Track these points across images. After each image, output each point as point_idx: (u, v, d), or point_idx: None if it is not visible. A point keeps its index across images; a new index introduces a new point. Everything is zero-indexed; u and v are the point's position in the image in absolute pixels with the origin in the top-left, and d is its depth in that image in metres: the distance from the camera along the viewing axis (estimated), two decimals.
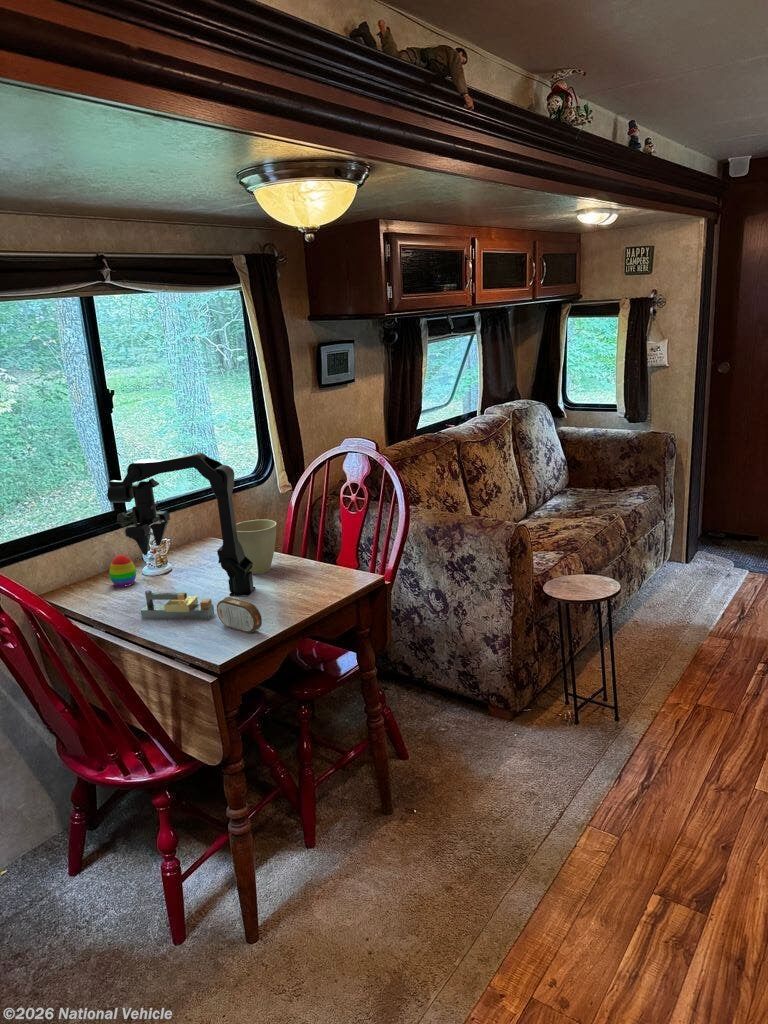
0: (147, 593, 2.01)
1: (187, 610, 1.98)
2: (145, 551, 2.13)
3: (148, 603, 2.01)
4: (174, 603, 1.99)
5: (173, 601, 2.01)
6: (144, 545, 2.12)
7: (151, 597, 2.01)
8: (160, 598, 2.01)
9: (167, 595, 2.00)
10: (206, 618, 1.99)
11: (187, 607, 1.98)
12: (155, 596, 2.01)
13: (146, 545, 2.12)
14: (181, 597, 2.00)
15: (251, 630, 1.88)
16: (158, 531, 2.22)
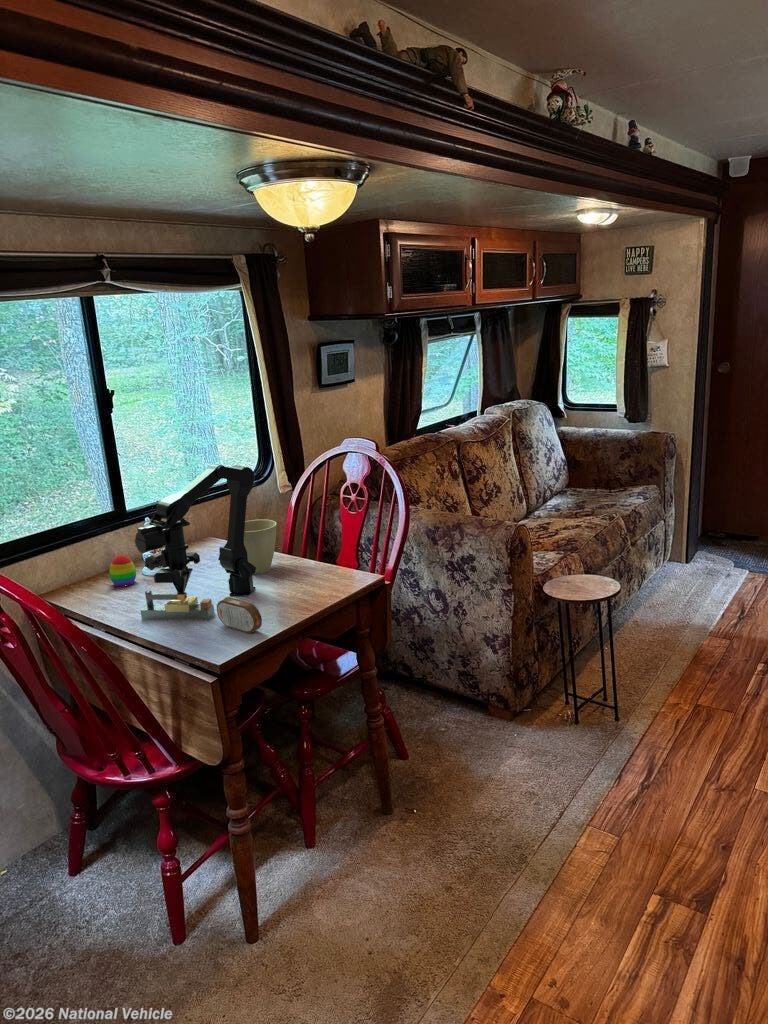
0: (147, 593, 2.01)
1: (187, 610, 1.98)
2: None
3: (148, 603, 2.01)
4: (174, 603, 1.99)
5: (173, 601, 2.01)
6: (180, 585, 2.00)
7: (151, 597, 2.01)
8: (160, 598, 2.01)
9: (167, 595, 2.00)
10: (206, 618, 1.99)
11: (187, 607, 1.98)
12: (155, 596, 2.01)
13: (183, 586, 2.00)
14: (181, 597, 2.00)
15: (251, 630, 1.88)
16: None
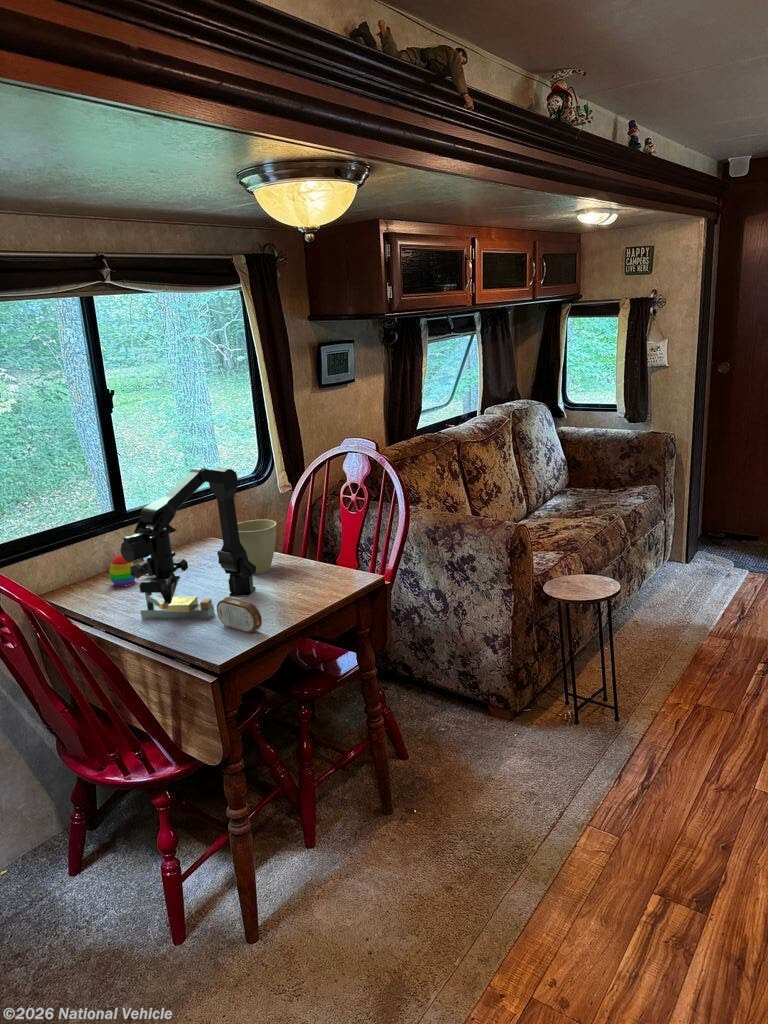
0: (145, 593, 2.01)
1: (187, 610, 1.98)
2: (168, 600, 1.96)
3: None
4: (174, 603, 1.99)
5: (173, 601, 2.01)
6: (168, 594, 1.94)
7: (148, 598, 2.00)
8: (152, 601, 1.99)
9: (154, 600, 1.97)
10: (206, 618, 1.99)
11: (187, 607, 1.98)
12: (149, 598, 1.99)
13: (170, 594, 1.94)
14: (160, 606, 1.94)
15: (251, 630, 1.88)
16: None
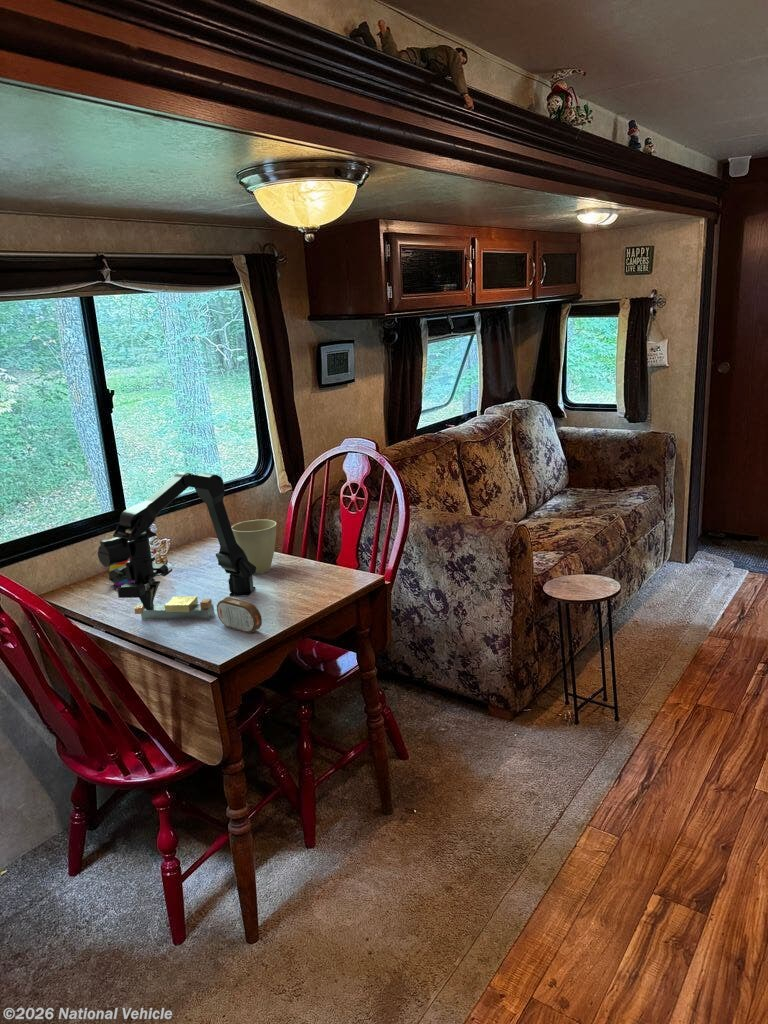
0: None
1: (187, 610, 1.98)
2: (148, 606, 1.92)
3: None
4: (174, 603, 1.99)
5: (173, 601, 2.01)
6: (147, 600, 1.91)
7: None
8: None
9: None
10: (206, 618, 1.99)
11: (187, 607, 1.98)
12: None
13: (149, 600, 1.91)
14: None
15: (251, 630, 1.88)
16: None
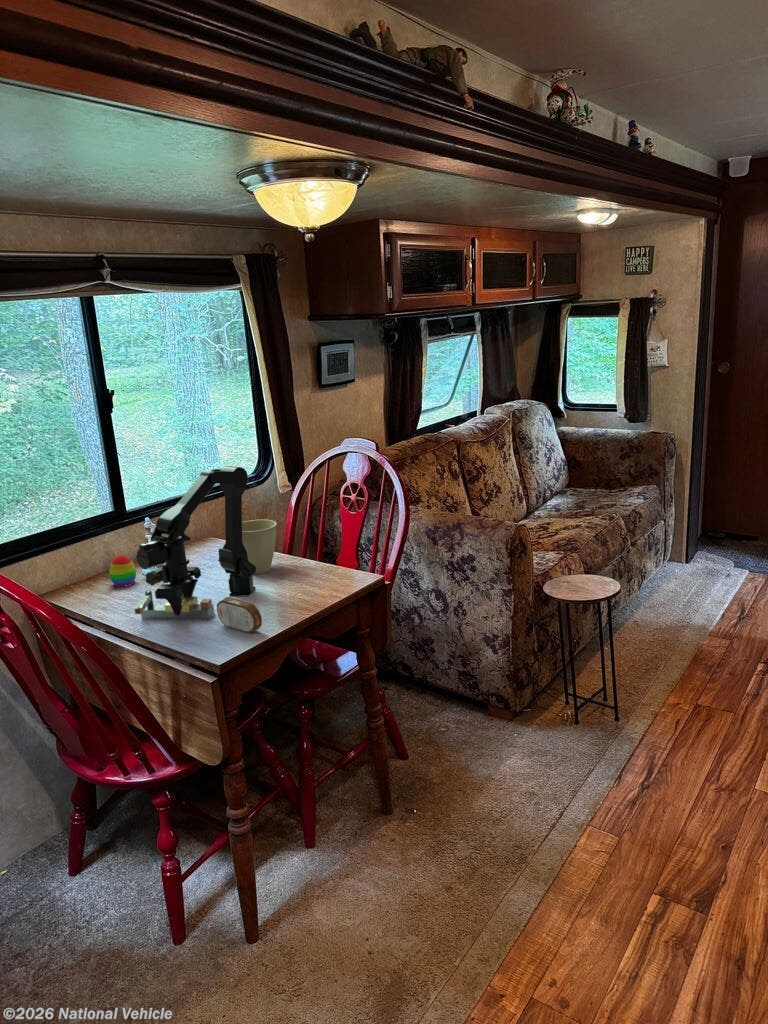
0: (145, 592, 2.01)
1: (187, 610, 1.98)
2: (177, 611, 1.97)
3: None
4: None
5: None
6: (177, 605, 1.96)
7: None
8: None
9: None
10: (206, 618, 1.99)
11: (187, 607, 1.98)
12: None
13: (179, 605, 1.96)
14: None
15: (251, 630, 1.88)
16: (187, 590, 2.04)
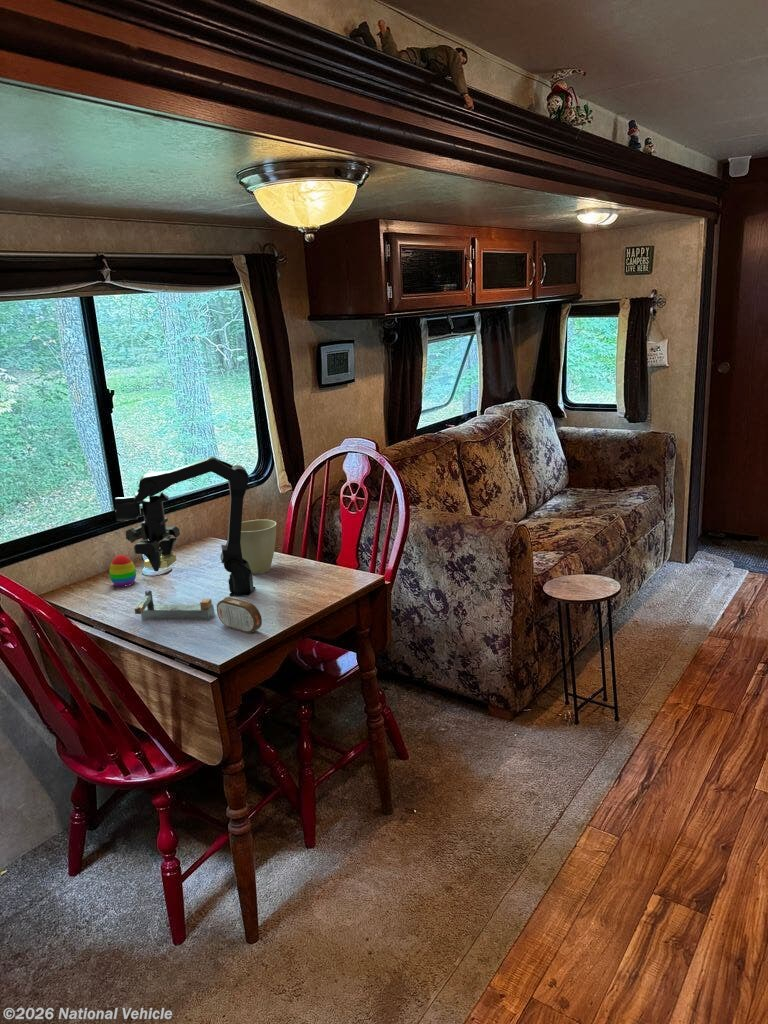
0: (145, 592, 2.01)
1: (165, 566, 2.06)
2: (156, 567, 2.06)
3: None
4: None
5: None
6: (155, 561, 2.05)
7: None
8: None
9: None
10: (206, 618, 1.99)
11: (166, 563, 2.06)
12: None
13: (158, 561, 2.05)
14: None
15: (251, 630, 1.88)
16: (166, 548, 2.12)
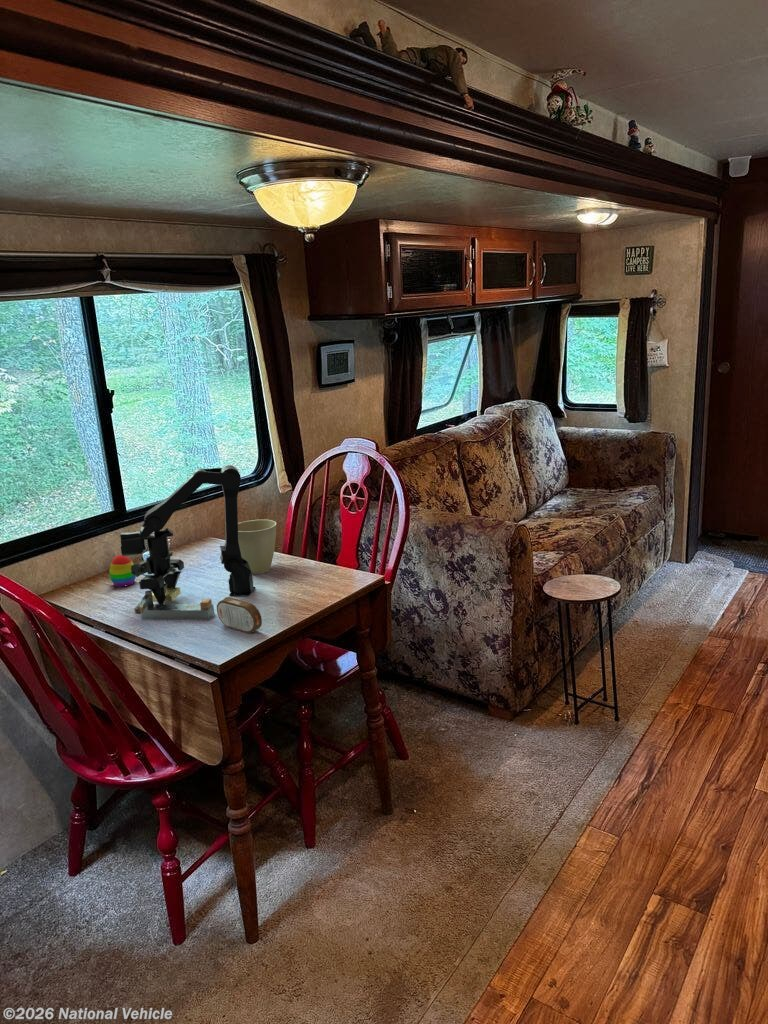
0: (145, 592, 2.01)
1: (170, 600, 2.09)
2: (161, 601, 2.09)
3: None
4: None
5: None
6: (160, 595, 2.07)
7: None
8: None
9: None
10: (206, 618, 1.99)
11: (170, 597, 2.09)
12: None
13: (163, 595, 2.08)
14: None
15: (251, 630, 1.88)
16: (170, 582, 2.15)
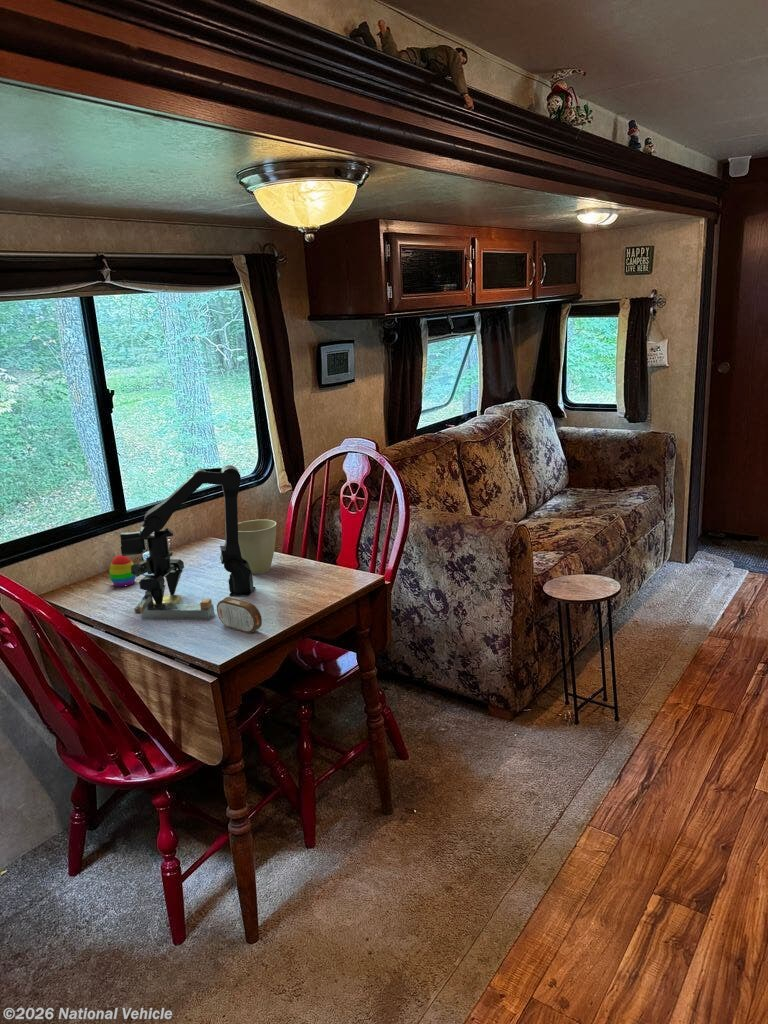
0: (145, 592, 2.01)
1: None
2: (159, 603, 2.07)
3: None
4: None
5: None
6: (158, 597, 2.06)
7: None
8: None
9: None
10: (206, 618, 1.99)
11: None
12: None
13: (161, 597, 2.06)
14: None
15: (251, 630, 1.88)
16: (172, 580, 2.16)
